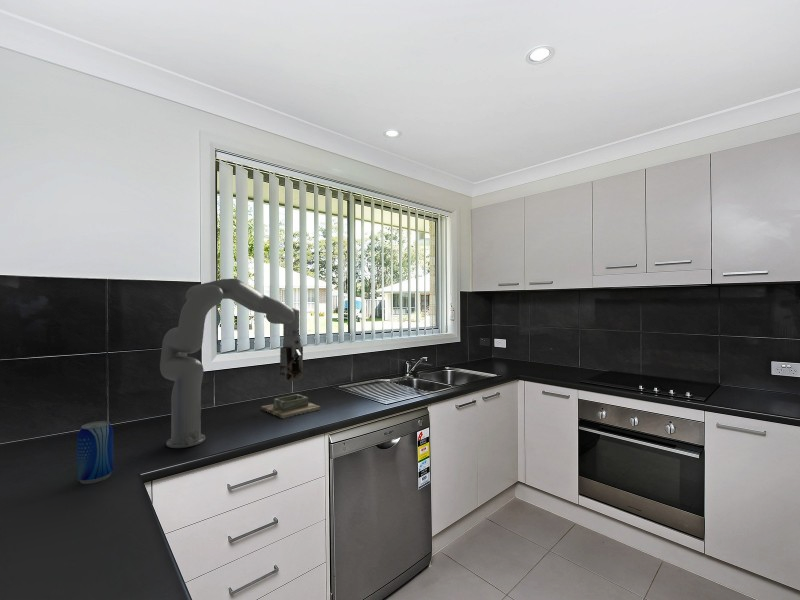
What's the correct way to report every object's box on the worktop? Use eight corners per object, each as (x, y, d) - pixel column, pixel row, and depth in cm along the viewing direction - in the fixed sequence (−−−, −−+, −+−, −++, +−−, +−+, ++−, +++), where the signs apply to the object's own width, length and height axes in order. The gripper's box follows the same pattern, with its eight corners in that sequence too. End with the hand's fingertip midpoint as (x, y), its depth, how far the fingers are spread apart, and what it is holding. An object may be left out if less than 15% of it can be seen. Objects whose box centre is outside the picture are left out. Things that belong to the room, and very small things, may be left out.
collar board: (320, 409, 183) (320, 398, 183) (282, 418, 168) (282, 406, 168) (298, 401, 197) (298, 391, 197) (261, 409, 182) (261, 398, 182)
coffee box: (287, 382, 177) (287, 348, 177) (279, 380, 181) (279, 347, 181) (303, 379, 184) (303, 346, 184) (295, 377, 188) (295, 345, 188)
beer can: (71, 481, 110) (71, 426, 110) (104, 469, 117) (104, 418, 117) (85, 487, 106) (85, 431, 106) (118, 475, 113) (119, 422, 113)
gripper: (308, 333, 179) (308, 371, 179) (289, 331, 191) (289, 366, 191) (293, 335, 174) (293, 373, 174) (275, 332, 186) (275, 368, 186)
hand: (291, 369), depth 183 cm, fingers closed on coffee box, 6 cm apart
